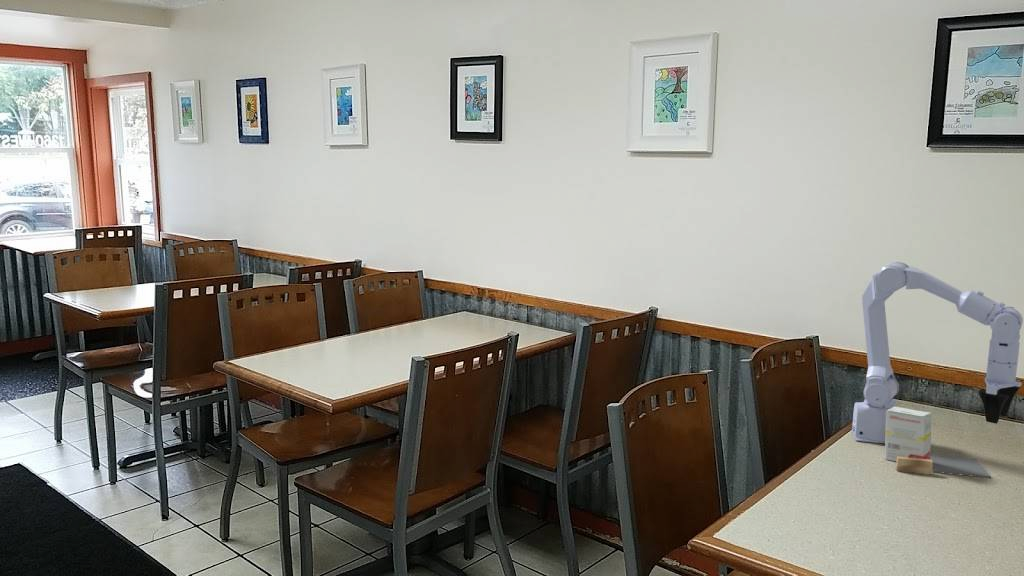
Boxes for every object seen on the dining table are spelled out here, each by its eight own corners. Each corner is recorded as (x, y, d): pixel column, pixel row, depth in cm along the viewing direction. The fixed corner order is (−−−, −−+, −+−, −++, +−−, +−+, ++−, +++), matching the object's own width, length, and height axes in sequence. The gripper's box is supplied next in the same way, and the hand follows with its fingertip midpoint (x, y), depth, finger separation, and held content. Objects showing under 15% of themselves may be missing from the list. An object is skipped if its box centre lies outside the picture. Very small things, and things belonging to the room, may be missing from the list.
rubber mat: (932, 472, 173) (932, 470, 173) (921, 455, 184) (921, 453, 184) (990, 478, 170) (990, 476, 170) (975, 460, 180) (976, 458, 180)
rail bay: (896, 471, 174) (898, 458, 173) (885, 449, 187) (886, 437, 187) (931, 474, 172) (932, 461, 171) (917, 452, 185) (918, 440, 185)
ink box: (931, 461, 178) (933, 411, 176) (923, 468, 175) (925, 417, 173) (892, 453, 184) (893, 405, 183) (884, 459, 181) (885, 409, 179)
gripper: (1014, 369, 169) (1008, 430, 171) (1031, 358, 179) (1024, 415, 181) (978, 363, 174) (972, 422, 176) (996, 353, 184) (990, 409, 186)
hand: (996, 418), depth 179 cm, fingers open, 7 cm apart
